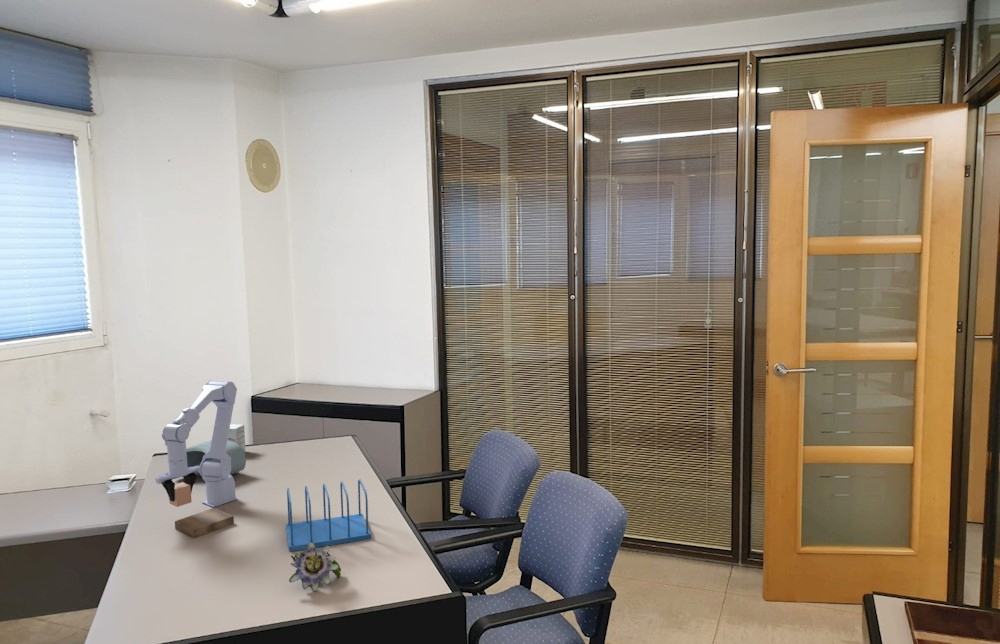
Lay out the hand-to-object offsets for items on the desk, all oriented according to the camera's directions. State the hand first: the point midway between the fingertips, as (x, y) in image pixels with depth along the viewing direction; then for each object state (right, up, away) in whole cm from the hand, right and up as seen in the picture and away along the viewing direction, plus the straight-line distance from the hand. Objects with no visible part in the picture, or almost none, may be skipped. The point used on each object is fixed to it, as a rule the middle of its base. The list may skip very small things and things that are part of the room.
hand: (180, 498), depth 234 cm
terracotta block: (0, -2, 0) cm, 2 cm away
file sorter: (+52, -10, -10) cm, 54 cm away
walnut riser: (+9, -9, -2) cm, 13 cm away
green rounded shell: (-9, -3, +44) cm, 45 cm away
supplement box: (-10, +1, +74) cm, 74 cm away
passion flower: (+56, -13, -41) cm, 71 cm away
